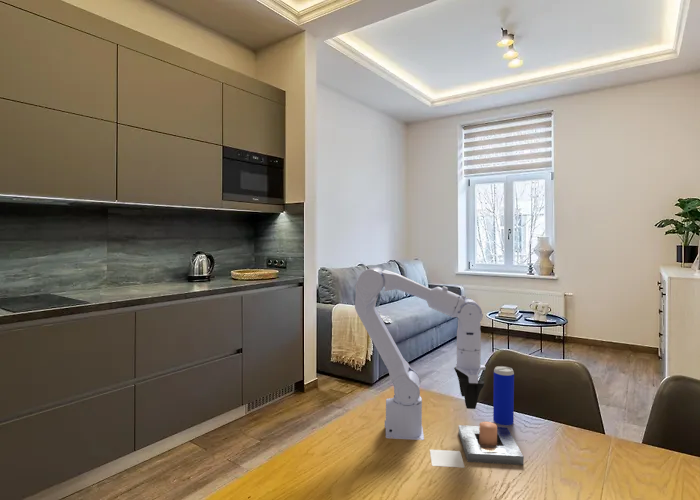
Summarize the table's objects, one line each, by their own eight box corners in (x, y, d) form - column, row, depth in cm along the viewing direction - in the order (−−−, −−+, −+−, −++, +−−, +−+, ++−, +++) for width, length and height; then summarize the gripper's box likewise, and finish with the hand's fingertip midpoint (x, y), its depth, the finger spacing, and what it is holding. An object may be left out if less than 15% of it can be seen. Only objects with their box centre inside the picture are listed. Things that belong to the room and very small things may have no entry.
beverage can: (510, 419, 117) (511, 366, 116) (515, 428, 111) (516, 372, 111) (491, 418, 117) (491, 365, 117) (495, 427, 112) (496, 371, 111)
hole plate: (467, 464, 94) (467, 452, 94) (458, 434, 108) (458, 424, 108) (523, 467, 93) (523, 455, 92) (507, 437, 106) (507, 427, 106)
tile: (432, 468, 92) (432, 465, 92) (429, 451, 99) (429, 449, 99) (464, 470, 92) (464, 467, 92) (460, 453, 99) (460, 451, 98)
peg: (481, 454, 98) (482, 428, 98) (477, 445, 102) (477, 421, 102) (499, 454, 98) (499, 429, 98) (493, 445, 102) (494, 421, 102)
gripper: (491, 357, 97) (491, 414, 98) (479, 341, 112) (479, 391, 112) (460, 356, 98) (459, 413, 98) (452, 340, 112) (452, 390, 113)
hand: (468, 401), depth 105 cm, fingers open, 7 cm apart
